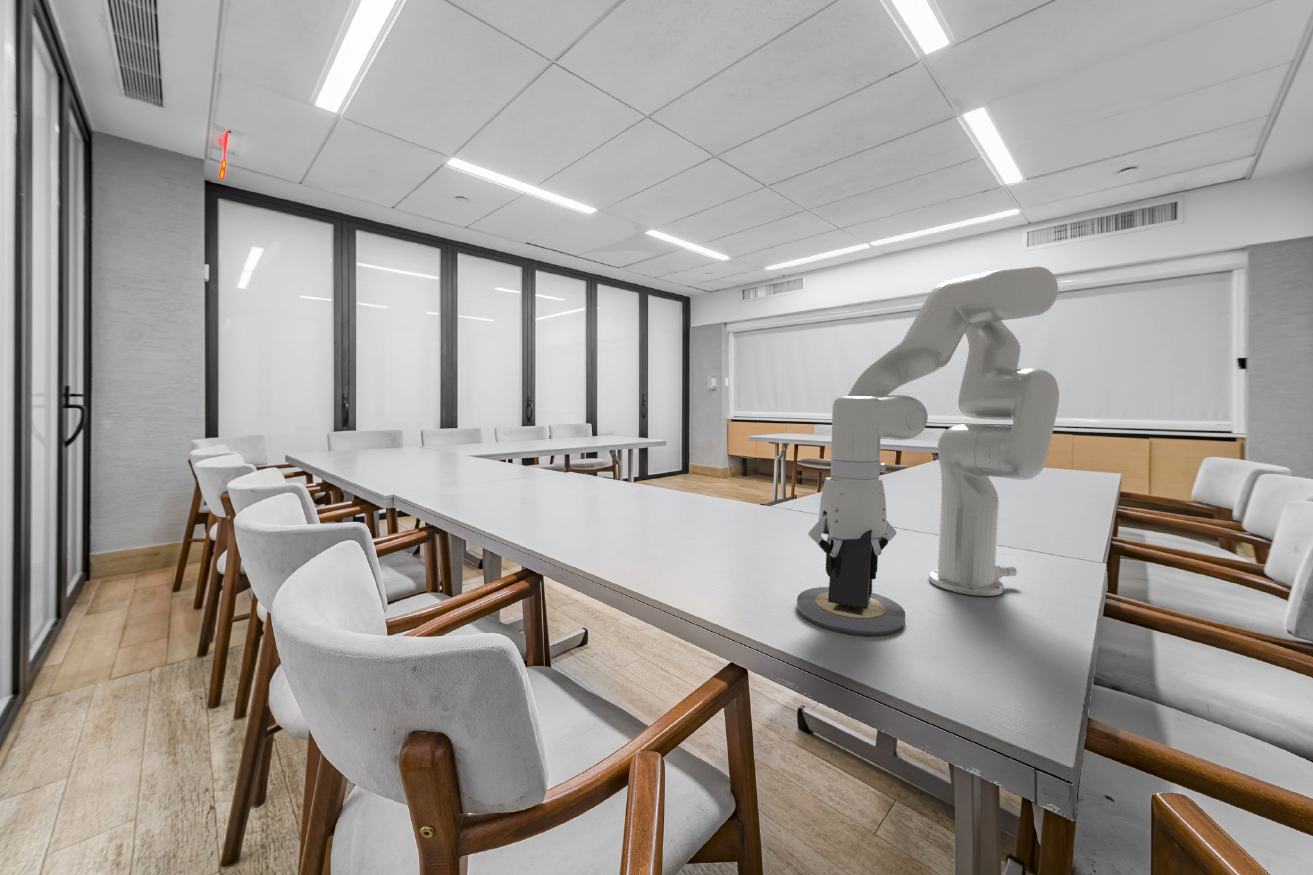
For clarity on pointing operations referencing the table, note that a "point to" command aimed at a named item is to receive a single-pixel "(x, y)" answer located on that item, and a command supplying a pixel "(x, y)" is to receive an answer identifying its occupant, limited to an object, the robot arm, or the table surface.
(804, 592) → the rosette plate
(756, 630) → the table surface
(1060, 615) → the table surface
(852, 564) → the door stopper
